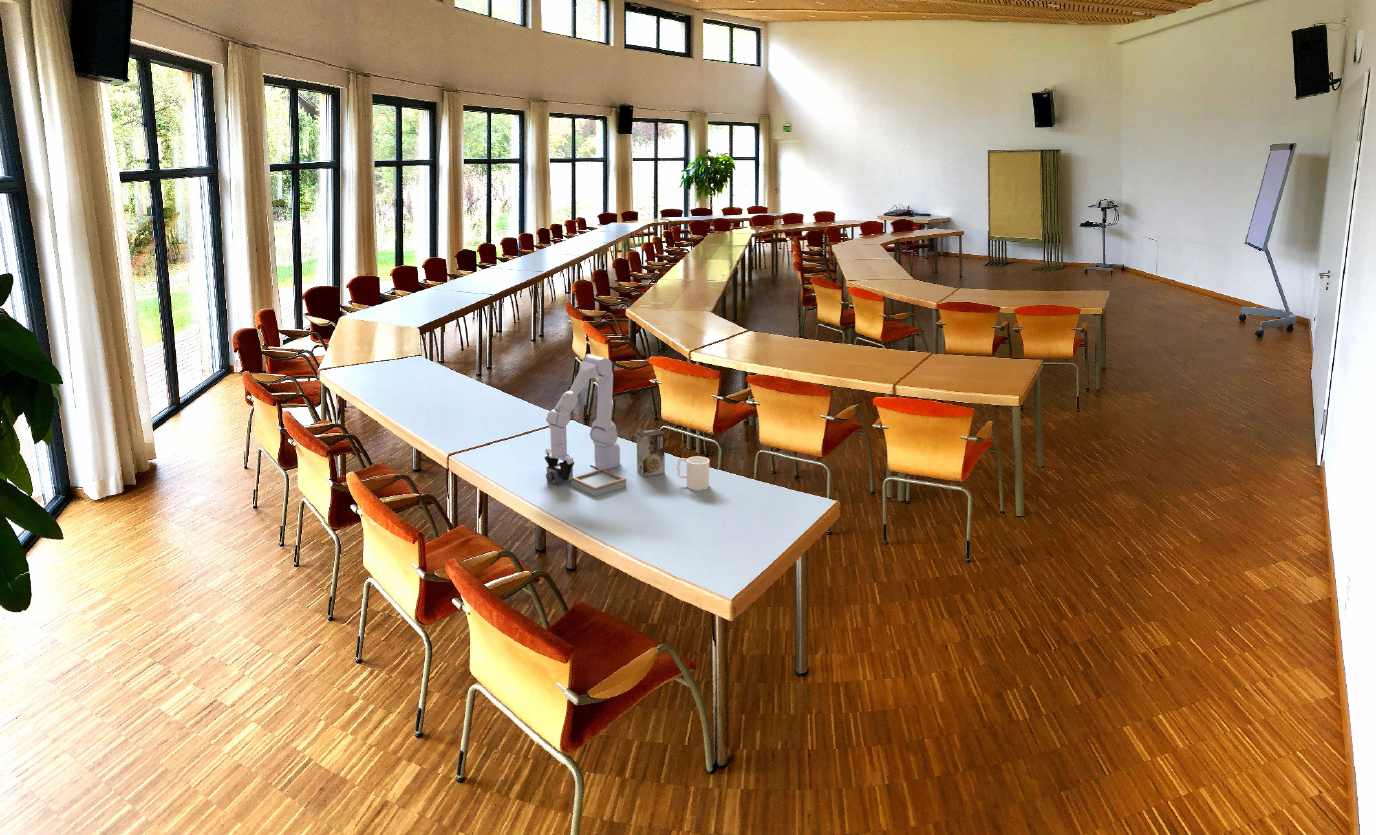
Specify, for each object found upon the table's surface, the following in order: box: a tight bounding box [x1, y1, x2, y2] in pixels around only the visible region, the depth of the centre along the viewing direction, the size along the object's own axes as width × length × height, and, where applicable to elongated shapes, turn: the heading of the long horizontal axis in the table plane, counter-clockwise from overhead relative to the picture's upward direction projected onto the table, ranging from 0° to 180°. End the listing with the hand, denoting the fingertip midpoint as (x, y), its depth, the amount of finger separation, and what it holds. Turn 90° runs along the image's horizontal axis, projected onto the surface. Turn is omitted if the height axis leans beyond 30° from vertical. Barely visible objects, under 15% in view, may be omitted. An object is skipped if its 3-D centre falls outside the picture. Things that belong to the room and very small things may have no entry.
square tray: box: [571, 469, 627, 497], centre depth 319 cm, size 14×14×3 cm
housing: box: [545, 463, 574, 487], centre depth 322 cm, size 9×5×6 cm, turn 133°
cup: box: [676, 455, 710, 491], centre depth 319 cm, size 8×12×10 cm
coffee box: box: [636, 428, 666, 478], centre depth 330 cm, size 9×6×16 cm
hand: (559, 477), depth 323 cm, fingers open, 7 cm apart
